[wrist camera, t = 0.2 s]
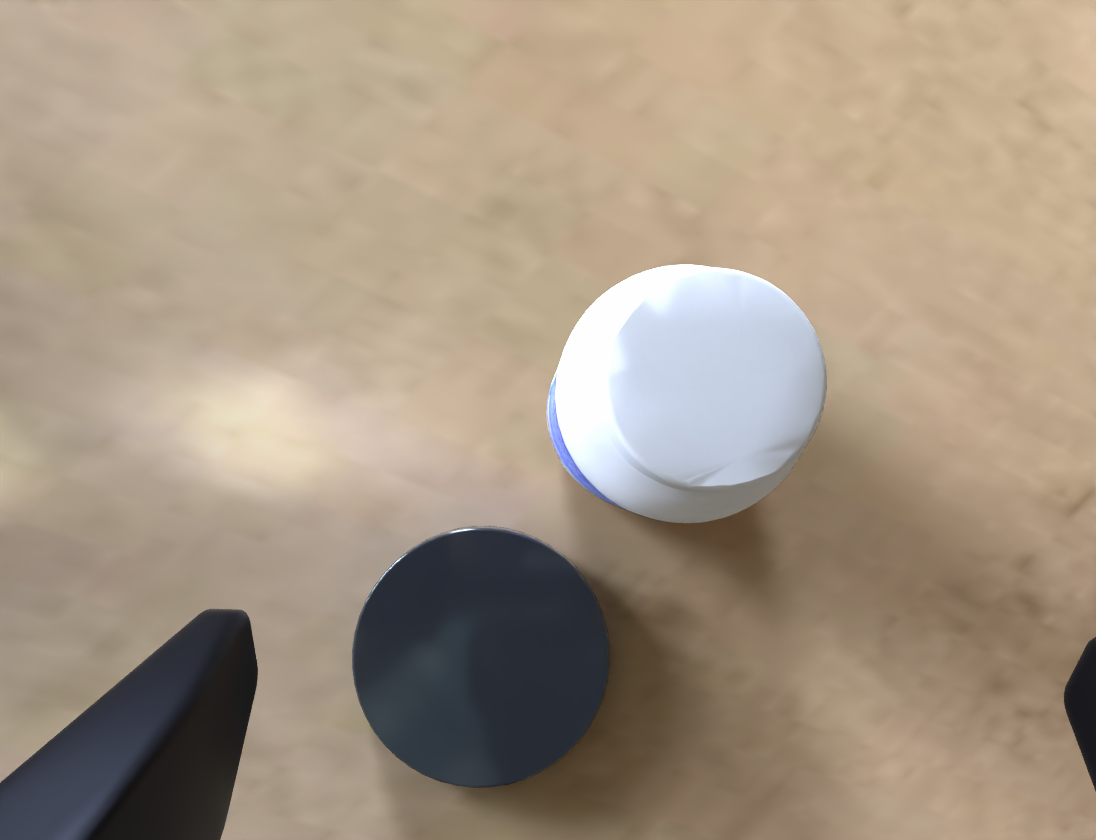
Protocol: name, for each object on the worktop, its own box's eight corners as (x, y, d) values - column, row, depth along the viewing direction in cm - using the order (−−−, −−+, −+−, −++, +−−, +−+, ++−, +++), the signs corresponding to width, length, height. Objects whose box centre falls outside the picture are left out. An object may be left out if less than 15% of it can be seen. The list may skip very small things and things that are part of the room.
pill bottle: (692, 535, 25) (807, 587, 15) (516, 465, 25) (516, 471, 15) (761, 358, 25) (917, 298, 15) (587, 288, 25) (632, 180, 15)
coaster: (649, 705, 24) (654, 713, 24) (426, 822, 24) (423, 835, 23) (538, 482, 25) (538, 483, 24) (314, 596, 24) (306, 600, 23)
